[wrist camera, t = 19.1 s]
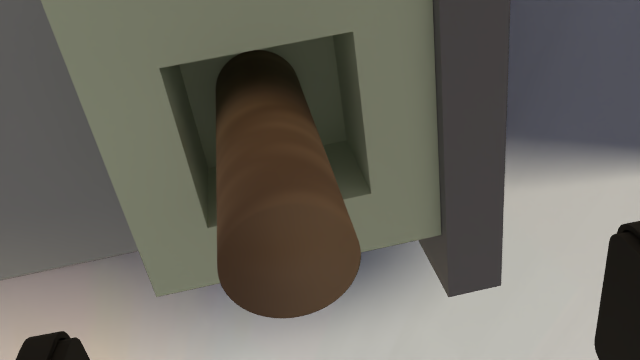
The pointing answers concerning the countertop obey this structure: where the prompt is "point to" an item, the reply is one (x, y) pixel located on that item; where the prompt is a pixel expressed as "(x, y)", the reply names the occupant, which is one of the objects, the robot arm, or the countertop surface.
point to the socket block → (200, 111)
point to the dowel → (276, 195)
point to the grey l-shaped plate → (101, 199)
